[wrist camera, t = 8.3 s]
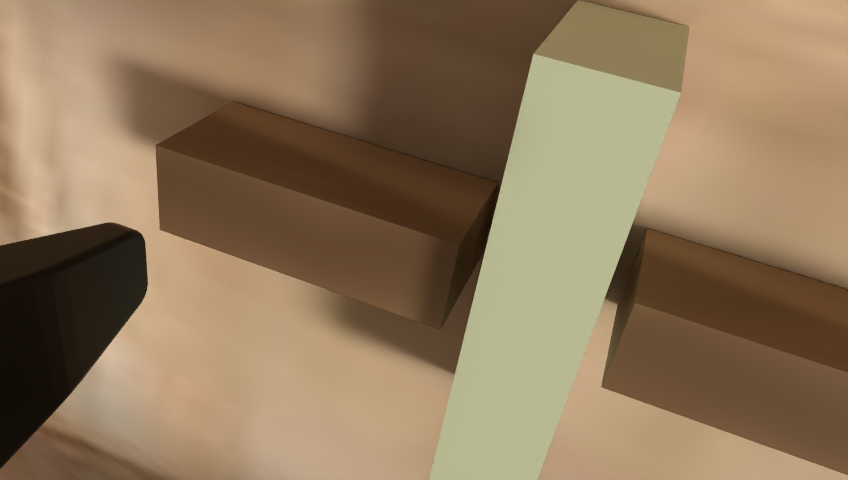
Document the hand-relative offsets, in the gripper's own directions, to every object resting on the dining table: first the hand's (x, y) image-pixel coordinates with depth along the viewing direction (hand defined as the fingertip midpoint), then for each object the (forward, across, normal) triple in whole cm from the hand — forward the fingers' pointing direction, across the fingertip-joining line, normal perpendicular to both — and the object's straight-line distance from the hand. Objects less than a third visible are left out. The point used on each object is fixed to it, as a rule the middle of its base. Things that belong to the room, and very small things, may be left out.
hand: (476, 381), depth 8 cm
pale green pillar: (+11, 0, +4) cm, 12 cm away
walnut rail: (+11, 0, +4) cm, 11 cm away
